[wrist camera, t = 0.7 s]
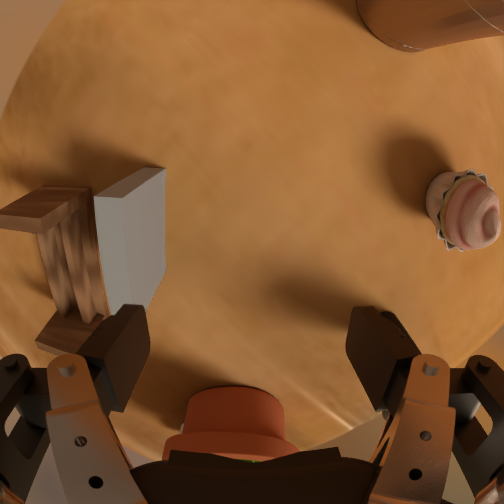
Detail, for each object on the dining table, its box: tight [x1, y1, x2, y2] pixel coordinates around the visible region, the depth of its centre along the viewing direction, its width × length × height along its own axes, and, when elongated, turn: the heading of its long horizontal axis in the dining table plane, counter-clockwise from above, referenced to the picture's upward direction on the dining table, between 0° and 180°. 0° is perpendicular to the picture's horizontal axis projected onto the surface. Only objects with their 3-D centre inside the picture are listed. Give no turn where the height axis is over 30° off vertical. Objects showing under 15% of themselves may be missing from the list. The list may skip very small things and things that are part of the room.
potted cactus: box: [162, 387, 300, 463], centre depth 34 cm, size 22×22×25 cm
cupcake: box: [426, 169, 501, 252], centre depth 22 cm, size 9×9×10 cm
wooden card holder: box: [0, 186, 109, 356], centre depth 27 cm, size 19×8×9 cm, turn 173°
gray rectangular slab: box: [94, 167, 166, 315], centre depth 24 cm, size 12×2×10 cm, turn 173°
